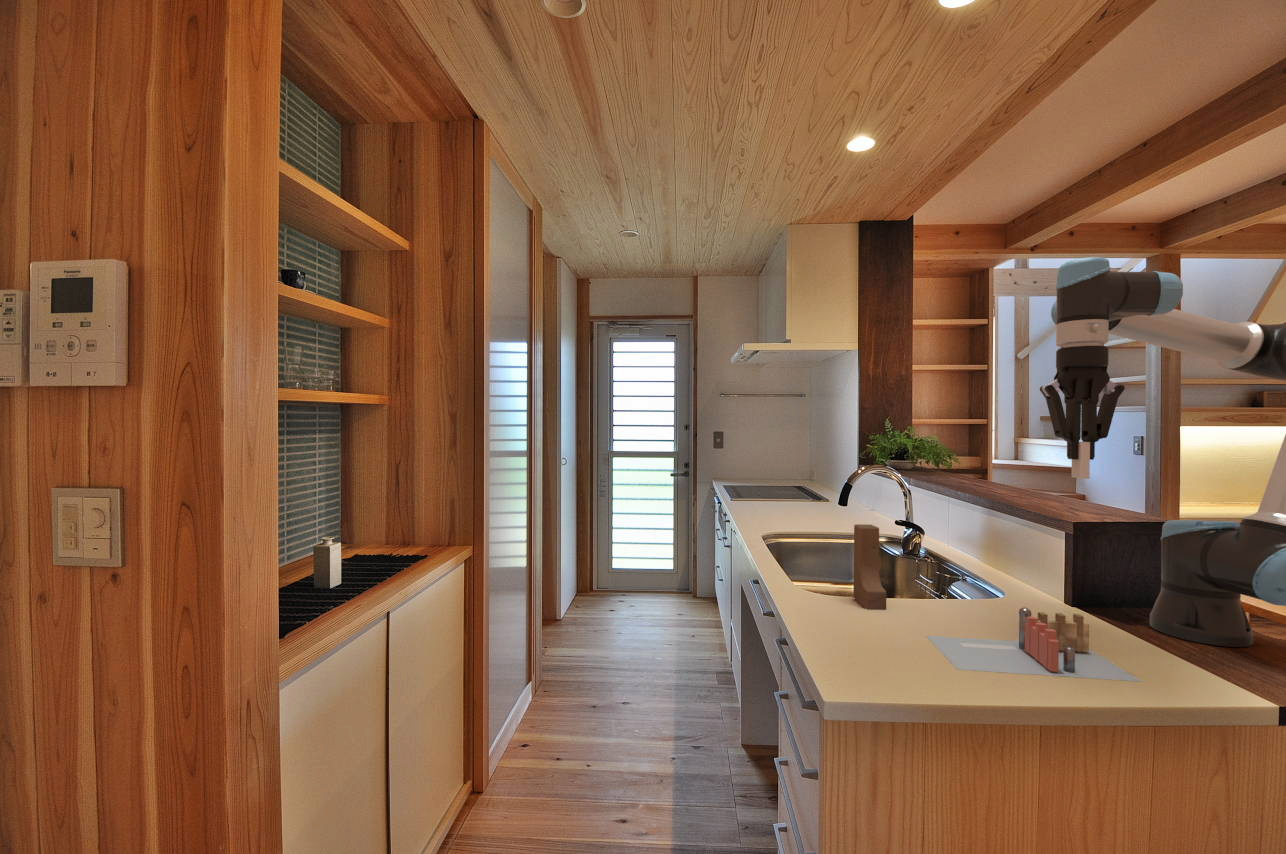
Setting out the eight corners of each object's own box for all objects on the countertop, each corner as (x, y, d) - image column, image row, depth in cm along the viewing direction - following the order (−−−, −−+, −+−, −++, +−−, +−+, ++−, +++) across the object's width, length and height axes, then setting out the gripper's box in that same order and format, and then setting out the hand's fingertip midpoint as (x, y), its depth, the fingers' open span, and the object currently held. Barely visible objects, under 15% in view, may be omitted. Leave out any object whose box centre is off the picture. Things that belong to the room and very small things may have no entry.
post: (1027, 647, 108) (1028, 606, 108) (1033, 651, 107) (1033, 609, 107) (1016, 646, 109) (1016, 605, 109) (1021, 650, 107) (1021, 609, 107)
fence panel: (1024, 649, 106) (1024, 614, 106) (1032, 650, 106) (1033, 615, 106) (1049, 671, 97) (1050, 632, 97) (1059, 671, 97) (1059, 633, 97)
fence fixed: (1084, 649, 107) (1085, 614, 107) (1089, 652, 105) (1089, 617, 105) (1031, 646, 108) (1031, 611, 108) (1035, 649, 107) (1035, 614, 107)
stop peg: (1071, 669, 99) (1071, 645, 99) (1077, 673, 97) (1077, 649, 97) (1061, 668, 99) (1061, 645, 99) (1066, 672, 97) (1067, 648, 97)
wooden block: (887, 611, 130) (887, 531, 130) (866, 611, 130) (867, 530, 130) (871, 599, 139) (872, 524, 139) (852, 599, 139) (853, 524, 139)
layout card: (1082, 646, 110) (1082, 644, 110) (1142, 684, 94) (1142, 681, 94) (925, 637, 114) (925, 635, 114) (957, 671, 98) (957, 669, 98)
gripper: (1053, 344, 102) (1052, 479, 102) (1136, 343, 100) (1135, 480, 100) (1031, 349, 109) (1030, 475, 109) (1108, 349, 107) (1107, 477, 107)
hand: (1080, 477), depth 104 cm, fingers closed
